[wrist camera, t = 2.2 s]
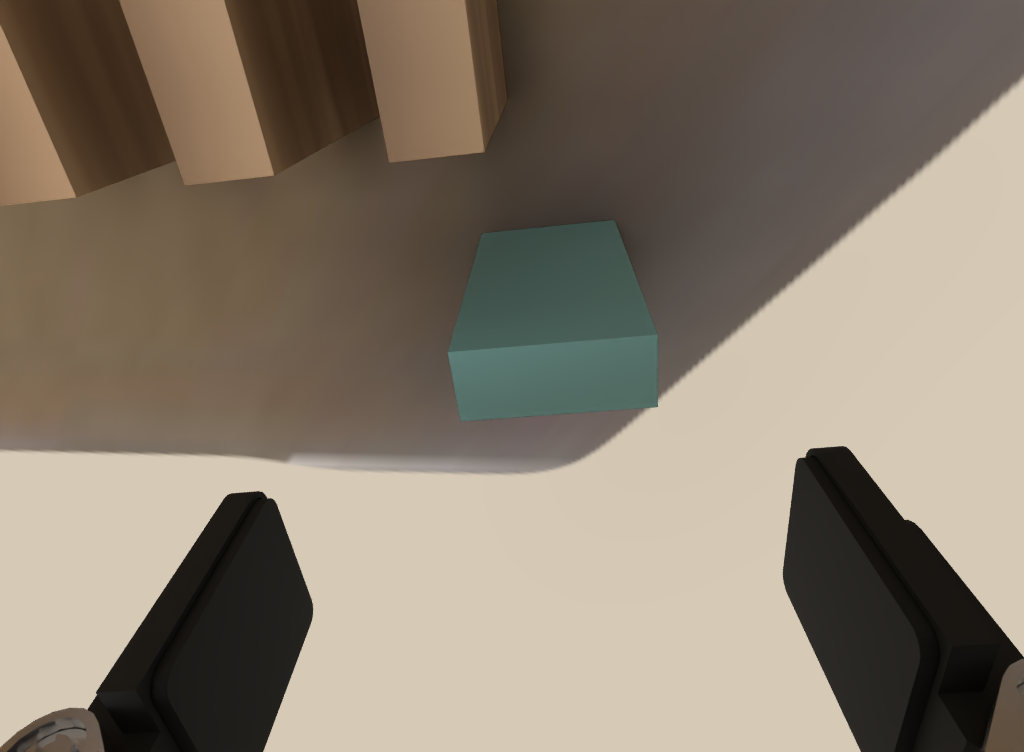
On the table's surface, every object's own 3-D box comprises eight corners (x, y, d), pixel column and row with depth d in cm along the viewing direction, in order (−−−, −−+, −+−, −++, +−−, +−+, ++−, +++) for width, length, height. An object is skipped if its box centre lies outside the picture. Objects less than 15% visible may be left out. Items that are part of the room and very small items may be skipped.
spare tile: (481, 233, 24) (447, 352, 15) (614, 219, 24) (657, 334, 15) (488, 282, 25) (460, 421, 16) (616, 271, 24) (657, 407, 16)
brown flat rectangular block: (345, -56, 20) (190, -119, 11) (379, 115, 22) (273, 175, 13) (284, -47, 20) (82, -103, 11) (324, 122, 22) (185, 185, 14)
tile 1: (488, -76, 19) (444, -160, 11) (507, 100, 22) (484, 151, 13) (424, -67, 19) (328, -141, 11) (449, 107, 22) (389, 162, 13)
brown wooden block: (209, -36, 20) (-47, -83, 11) (256, 130, 22) (76, 197, 14) (149, -27, 20) (-147, -67, 12) (203, 136, 23) (-8, 206, 14)
